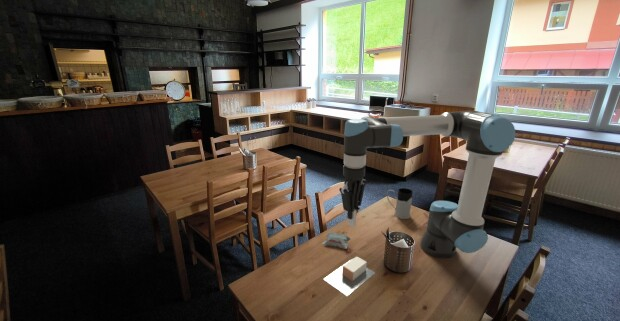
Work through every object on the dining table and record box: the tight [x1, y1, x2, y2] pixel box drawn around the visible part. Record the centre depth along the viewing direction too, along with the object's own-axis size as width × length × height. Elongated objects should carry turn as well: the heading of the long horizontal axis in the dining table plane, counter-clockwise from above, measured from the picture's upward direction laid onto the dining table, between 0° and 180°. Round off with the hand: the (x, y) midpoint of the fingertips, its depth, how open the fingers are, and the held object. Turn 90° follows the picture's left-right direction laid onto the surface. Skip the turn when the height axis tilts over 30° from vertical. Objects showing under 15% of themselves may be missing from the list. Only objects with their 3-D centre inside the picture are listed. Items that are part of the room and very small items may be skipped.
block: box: [342, 256, 368, 281], centre depth 115 cm, size 4×5×9 cm
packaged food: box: [321, 231, 351, 250], centre depth 134 cm, size 9×12×5 cm
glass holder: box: [386, 187, 413, 220], centre depth 162 cm, size 9×14×15 cm, turn 59°
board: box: [323, 258, 376, 297], centre depth 114 cm, size 18×12×1 cm, turn 134°
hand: (351, 225), depth 105 cm, fingers closed
